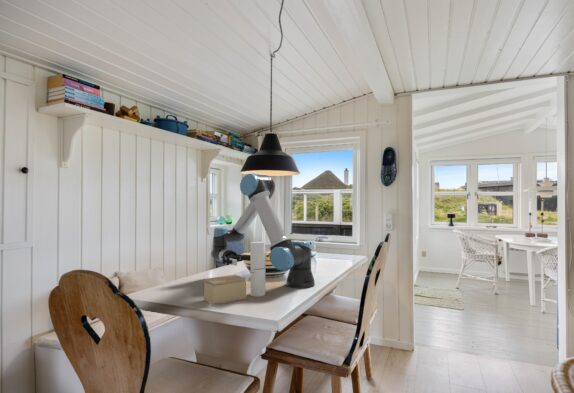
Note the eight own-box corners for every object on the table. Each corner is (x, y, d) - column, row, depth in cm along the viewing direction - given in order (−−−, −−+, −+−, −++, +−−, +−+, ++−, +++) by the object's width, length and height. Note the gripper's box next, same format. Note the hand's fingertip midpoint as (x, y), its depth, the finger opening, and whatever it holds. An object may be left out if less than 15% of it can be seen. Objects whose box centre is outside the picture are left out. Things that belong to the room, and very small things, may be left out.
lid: (204, 281, 148) (204, 278, 148) (234, 276, 158) (234, 274, 158) (213, 285, 140) (213, 283, 140) (245, 280, 150) (245, 278, 150)
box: (204, 299, 148) (204, 282, 148) (235, 293, 157) (235, 277, 158) (213, 304, 140) (213, 286, 140) (246, 298, 149) (246, 280, 150)
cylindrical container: (262, 296, 152) (262, 242, 153) (248, 295, 154) (248, 242, 155) (267, 292, 159) (267, 241, 160) (253, 292, 161) (253, 241, 162)
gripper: (247, 261, 189) (268, 266, 172) (207, 265, 174) (225, 271, 157) (247, 248, 189) (268, 251, 172) (207, 251, 174) (225, 256, 157)
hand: (247, 261), depth 164 cm, fingers open, 12 cm apart
